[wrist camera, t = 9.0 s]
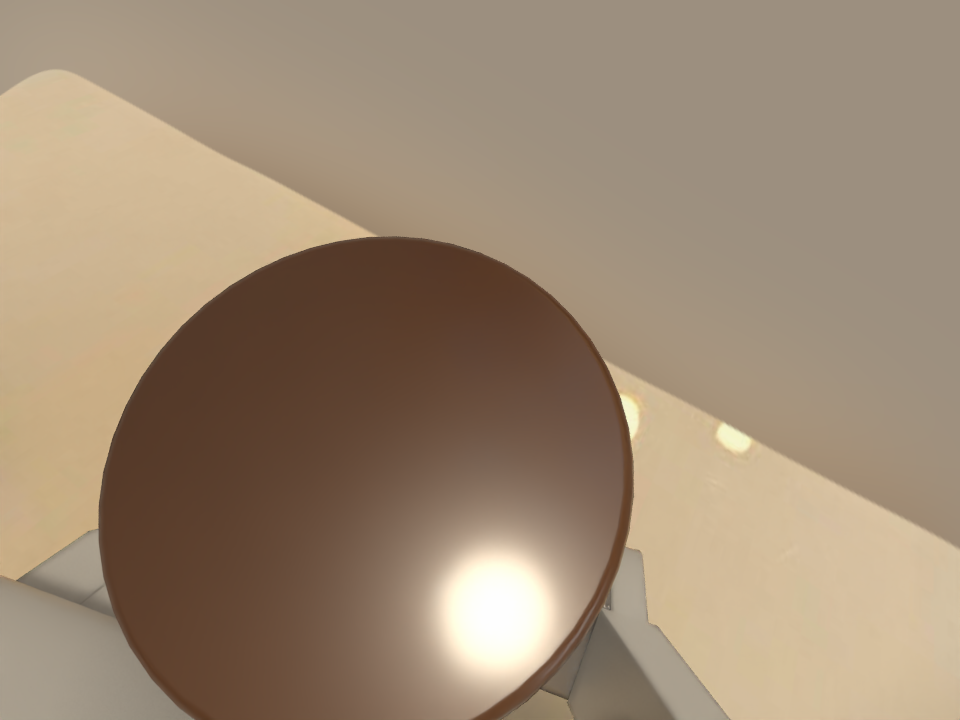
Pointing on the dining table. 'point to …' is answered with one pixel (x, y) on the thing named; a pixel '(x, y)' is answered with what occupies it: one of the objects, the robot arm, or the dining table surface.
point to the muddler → (367, 491)
